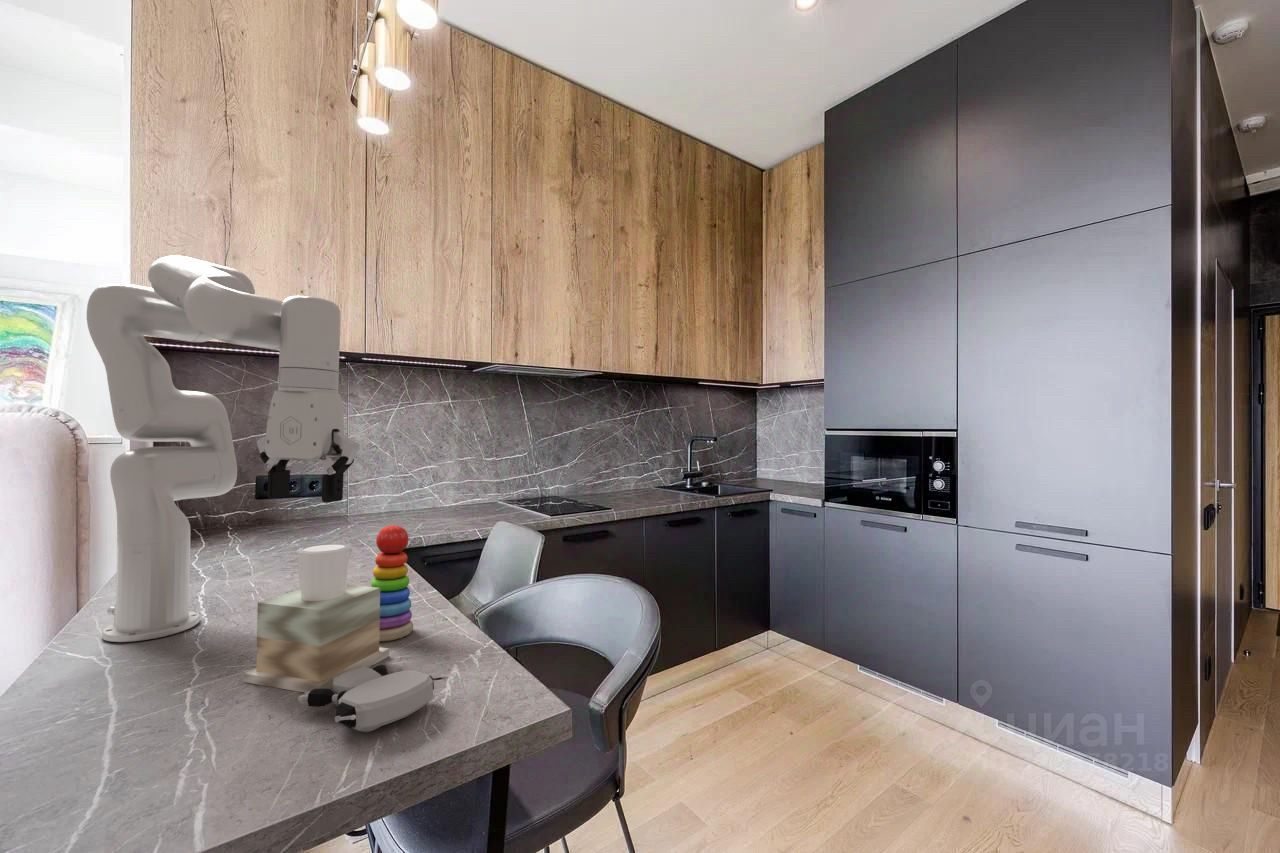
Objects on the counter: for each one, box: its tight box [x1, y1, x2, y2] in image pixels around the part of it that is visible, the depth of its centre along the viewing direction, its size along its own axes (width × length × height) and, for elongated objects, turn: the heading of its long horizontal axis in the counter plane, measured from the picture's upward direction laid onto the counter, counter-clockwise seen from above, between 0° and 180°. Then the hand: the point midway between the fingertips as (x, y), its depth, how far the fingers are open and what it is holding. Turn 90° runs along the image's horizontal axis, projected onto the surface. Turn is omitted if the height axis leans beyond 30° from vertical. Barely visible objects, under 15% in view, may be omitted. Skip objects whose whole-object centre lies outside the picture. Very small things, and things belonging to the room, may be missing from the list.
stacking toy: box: [370, 524, 414, 642], centre depth 93 cm, size 8×8×19 cm
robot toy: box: [297, 664, 449, 733], centre depth 68 cm, size 12×4×15 cm
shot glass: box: [296, 543, 351, 601], centre depth 80 cm, size 7×7×7 cm
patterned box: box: [243, 583, 390, 694], centre depth 80 cm, size 13×13×11 cm
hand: (305, 499), depth 80 cm, fingers open, 9 cm apart
